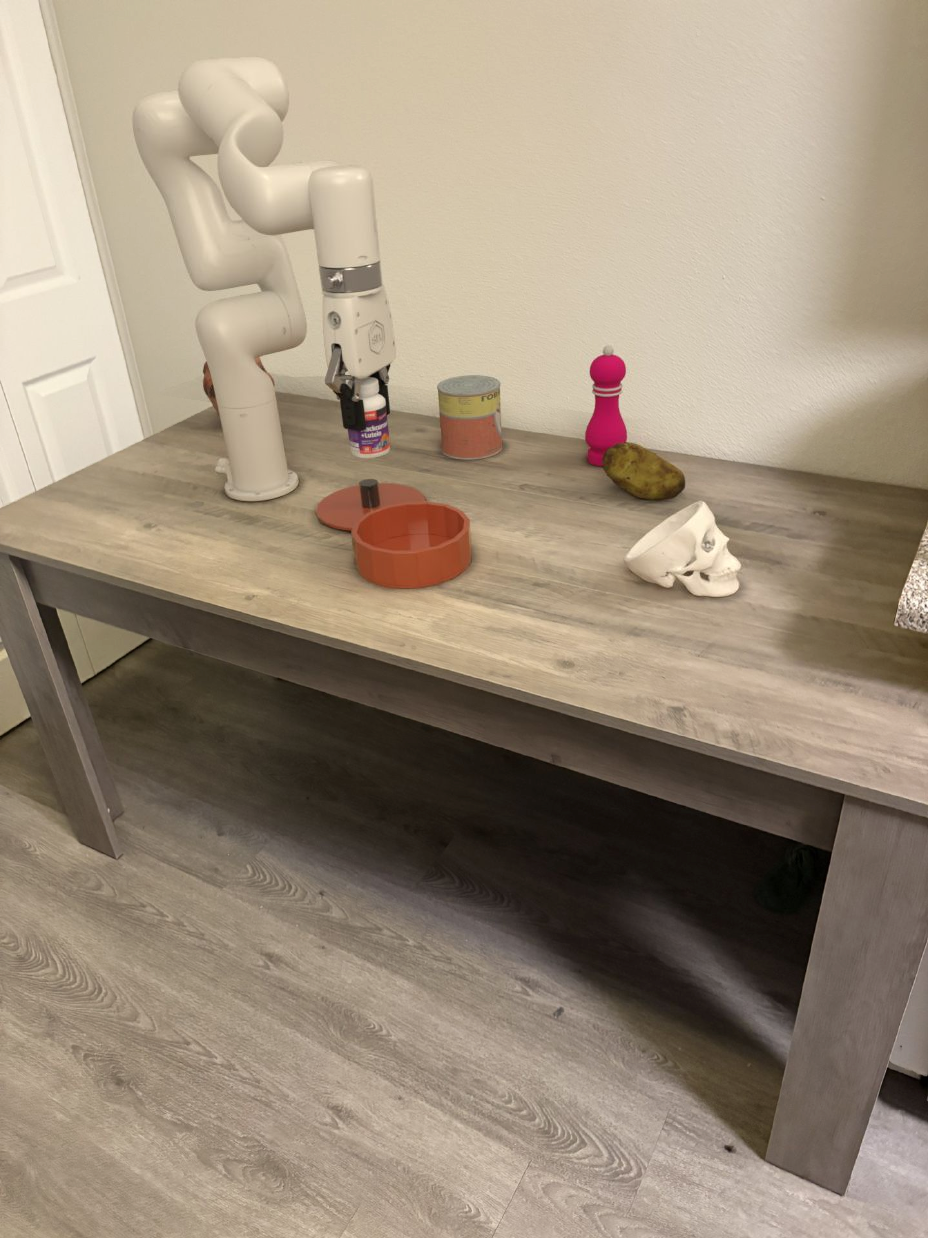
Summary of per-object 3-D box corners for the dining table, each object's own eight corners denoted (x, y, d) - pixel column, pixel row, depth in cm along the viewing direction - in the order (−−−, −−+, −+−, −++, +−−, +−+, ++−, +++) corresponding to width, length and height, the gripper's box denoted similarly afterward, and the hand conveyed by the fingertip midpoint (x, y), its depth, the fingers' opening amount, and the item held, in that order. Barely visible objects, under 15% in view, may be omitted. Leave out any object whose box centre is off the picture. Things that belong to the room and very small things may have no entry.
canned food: (503, 458, 165) (501, 392, 158) (440, 461, 165) (435, 395, 159) (501, 436, 174) (499, 373, 168) (442, 439, 175) (438, 376, 168)
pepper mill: (629, 454, 163) (634, 340, 153) (621, 469, 157) (626, 352, 147) (589, 451, 165) (591, 338, 155) (580, 466, 159) (581, 350, 149)
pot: (334, 576, 130) (329, 541, 127) (392, 528, 142) (388, 495, 139) (439, 597, 123) (436, 560, 120) (489, 544, 136) (488, 510, 133)
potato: (660, 512, 142) (663, 463, 138) (593, 492, 150) (594, 446, 146) (690, 495, 147) (693, 447, 143) (623, 476, 155) (625, 431, 150)
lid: (295, 525, 145) (290, 496, 143) (353, 483, 159) (350, 456, 156) (392, 541, 138) (389, 512, 136) (444, 496, 152) (442, 468, 149)
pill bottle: (364, 462, 121) (356, 390, 116) (343, 452, 124) (333, 381, 119) (398, 451, 124) (391, 380, 118) (376, 441, 127) (368, 372, 122)
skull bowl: (745, 602, 115) (698, 519, 112) (650, 634, 124) (605, 558, 121) (762, 564, 123) (719, 486, 120) (672, 597, 131) (630, 524, 129)
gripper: (339, 295, 104) (357, 446, 114) (411, 265, 117) (422, 403, 127) (285, 292, 107) (307, 440, 117) (361, 263, 120) (376, 398, 130)
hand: (367, 419), depth 122 cm, fingers closed on pill bottle, 5 cm apart
